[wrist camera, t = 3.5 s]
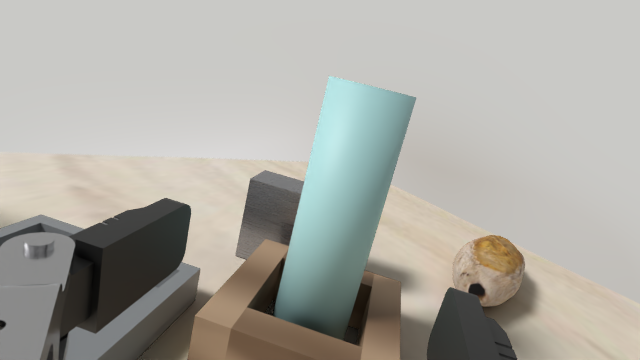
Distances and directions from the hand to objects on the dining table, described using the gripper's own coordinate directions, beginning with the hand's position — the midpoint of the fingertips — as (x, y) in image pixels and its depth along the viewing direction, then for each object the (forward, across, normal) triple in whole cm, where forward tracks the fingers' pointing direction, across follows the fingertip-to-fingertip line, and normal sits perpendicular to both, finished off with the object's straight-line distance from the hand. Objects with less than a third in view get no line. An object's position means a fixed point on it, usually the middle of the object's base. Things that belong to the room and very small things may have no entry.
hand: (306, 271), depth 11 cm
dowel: (+8, 0, +8) cm, 11 cm away
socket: (+8, 0, +8) cm, 11 cm away
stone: (+22, -12, +9) cm, 27 cm away
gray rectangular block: (+16, +3, +8) cm, 18 cm away
